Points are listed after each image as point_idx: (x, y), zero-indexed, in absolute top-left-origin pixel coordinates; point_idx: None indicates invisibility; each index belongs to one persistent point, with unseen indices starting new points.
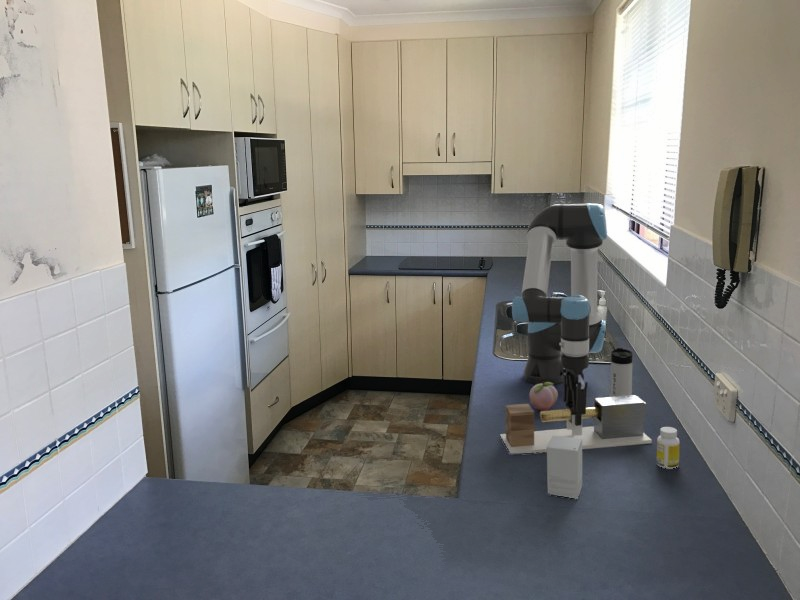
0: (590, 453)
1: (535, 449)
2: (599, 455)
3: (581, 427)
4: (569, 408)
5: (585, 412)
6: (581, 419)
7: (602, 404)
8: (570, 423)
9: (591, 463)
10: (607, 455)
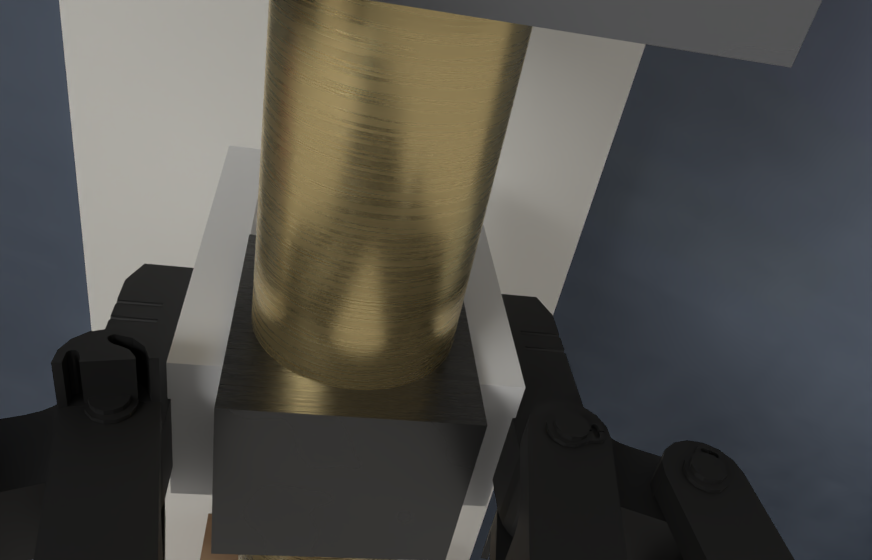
0: (700, 153)
1: (470, 532)
2: (789, 92)
3: (484, 239)
4: (344, 547)
5: (749, 488)
6: (503, 319)
7: (704, 10)
8: None
9: (859, 239)
10: (844, 10)
